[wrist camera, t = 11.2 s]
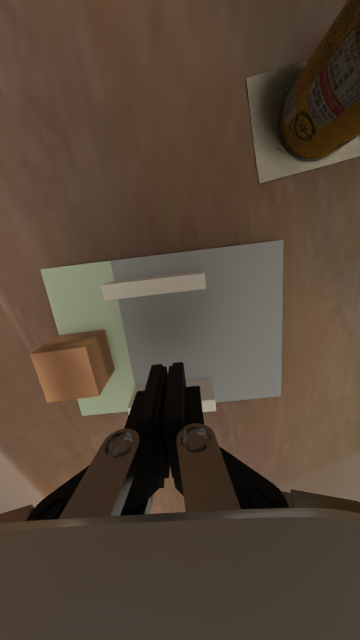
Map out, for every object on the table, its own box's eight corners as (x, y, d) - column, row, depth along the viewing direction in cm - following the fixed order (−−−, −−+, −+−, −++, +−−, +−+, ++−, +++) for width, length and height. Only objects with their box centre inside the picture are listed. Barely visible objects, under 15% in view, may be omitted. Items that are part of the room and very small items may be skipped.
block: (104, 329, 21) (85, 347, 17) (114, 369, 22) (99, 396, 18) (60, 334, 21) (30, 354, 17) (72, 375, 23) (47, 402, 18)
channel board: (278, 240, 20) (306, 235, 16) (277, 390, 24) (298, 419, 20) (46, 268, 21) (11, 271, 16) (85, 409, 25) (66, 441, 21)
